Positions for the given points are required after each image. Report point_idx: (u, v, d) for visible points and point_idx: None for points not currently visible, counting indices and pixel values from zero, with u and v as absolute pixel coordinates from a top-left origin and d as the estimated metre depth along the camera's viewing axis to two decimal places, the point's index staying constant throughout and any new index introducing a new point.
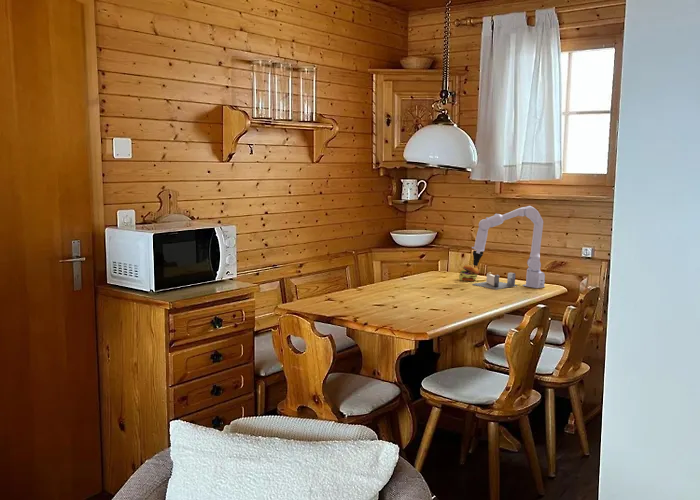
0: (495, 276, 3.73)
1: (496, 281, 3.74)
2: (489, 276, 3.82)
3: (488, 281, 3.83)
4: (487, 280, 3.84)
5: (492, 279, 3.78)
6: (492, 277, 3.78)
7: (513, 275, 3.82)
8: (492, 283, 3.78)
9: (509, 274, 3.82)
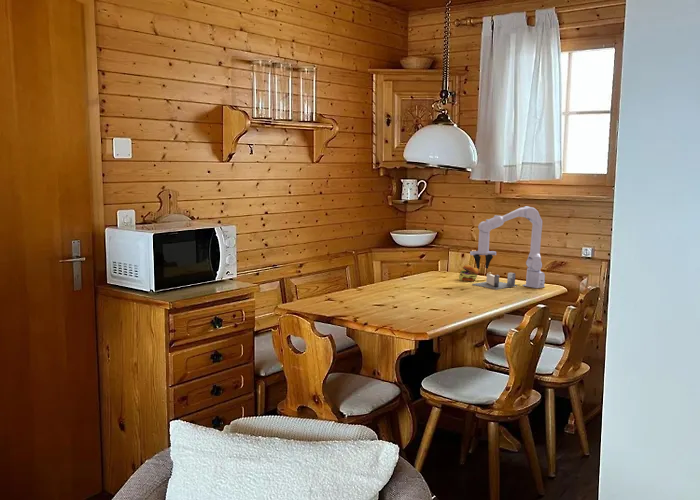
0: (495, 276, 3.73)
1: (496, 281, 3.74)
2: (489, 276, 3.82)
3: (488, 281, 3.83)
4: (487, 280, 3.84)
5: (492, 279, 3.78)
6: (492, 277, 3.78)
7: (513, 275, 3.82)
8: (492, 283, 3.78)
9: (509, 274, 3.82)
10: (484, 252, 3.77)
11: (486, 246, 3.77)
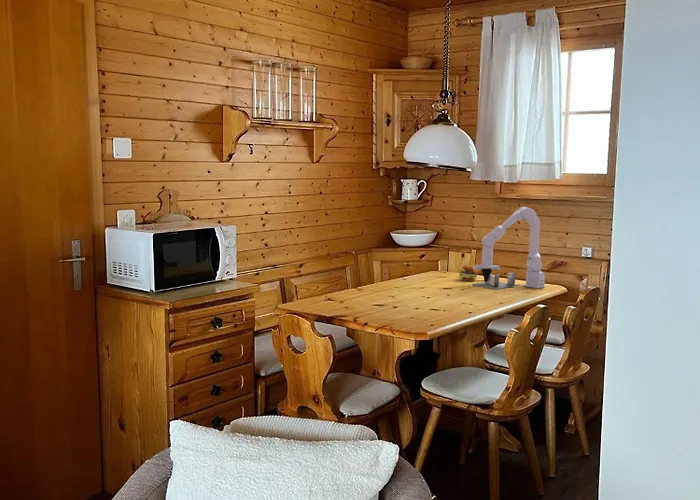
0: (495, 276, 3.73)
1: (496, 281, 3.74)
2: (489, 276, 3.82)
3: (488, 281, 3.83)
4: (488, 280, 3.84)
5: (492, 279, 3.78)
6: (492, 277, 3.78)
7: (513, 275, 3.82)
8: (492, 283, 3.78)
9: (509, 274, 3.82)
10: (487, 266, 3.79)
11: (489, 260, 3.78)
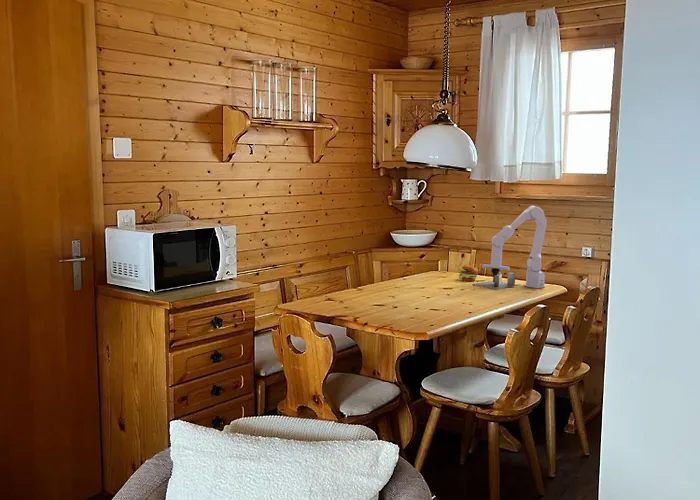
0: (495, 276, 3.73)
1: (496, 281, 3.74)
2: None
3: None
4: None
5: None
6: None
7: (513, 275, 3.82)
8: None
9: (509, 274, 3.82)
10: (493, 266, 3.80)
11: (496, 260, 3.79)
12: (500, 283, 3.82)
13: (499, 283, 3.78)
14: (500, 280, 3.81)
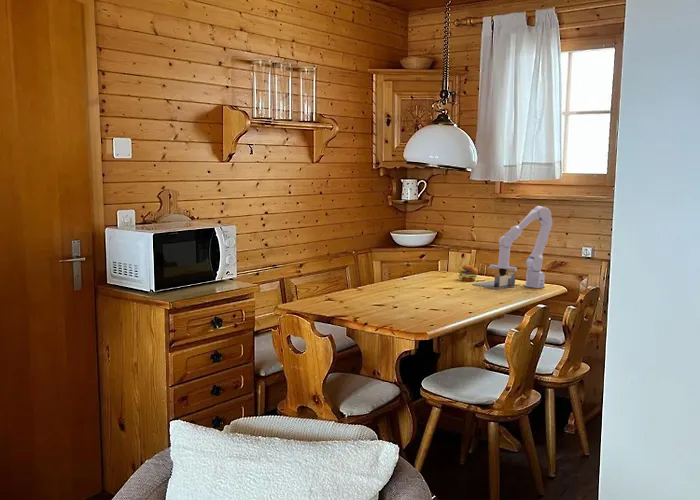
0: (495, 276, 3.73)
1: (496, 281, 3.74)
2: None
3: None
4: None
5: None
6: None
7: (513, 275, 3.82)
8: None
9: None
10: (501, 266, 3.78)
11: (503, 260, 3.77)
12: (507, 284, 3.79)
13: (502, 284, 3.77)
14: (506, 281, 3.79)
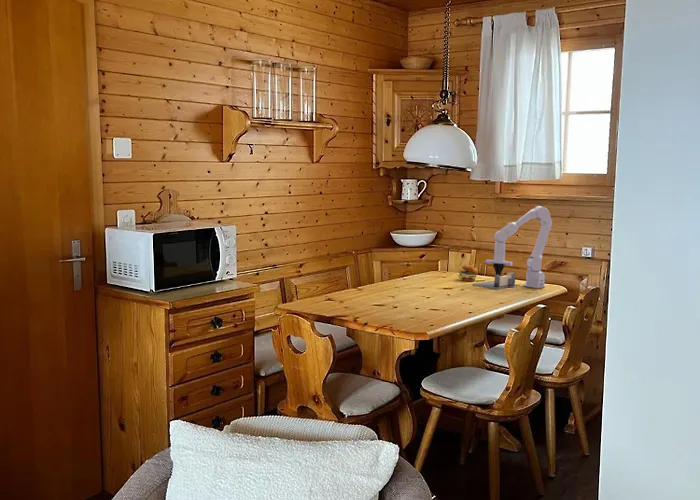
0: (495, 276, 3.73)
1: (496, 281, 3.74)
2: None
3: None
4: None
5: None
6: None
7: (513, 275, 3.82)
8: None
9: None
10: (496, 261, 3.80)
11: (498, 255, 3.79)
12: (507, 284, 3.79)
13: (502, 284, 3.77)
14: (506, 281, 3.79)
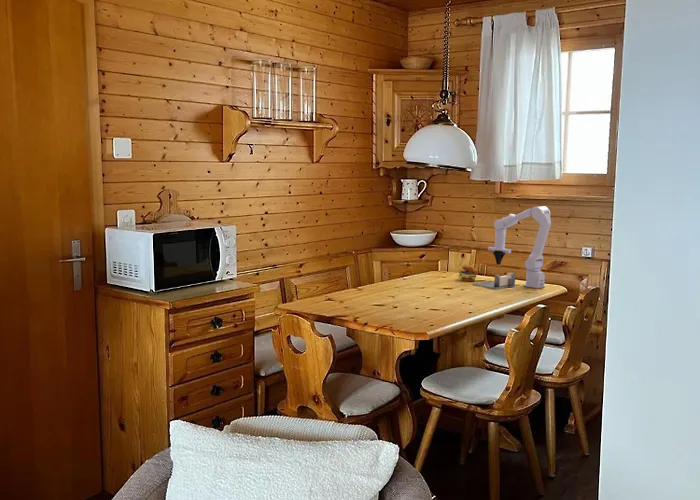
0: (495, 276, 3.73)
1: (496, 281, 3.74)
2: None
3: None
4: None
5: None
6: None
7: (513, 275, 3.82)
8: None
9: None
10: (495, 248, 3.95)
11: (497, 243, 3.94)
12: (507, 284, 3.79)
13: (502, 284, 3.77)
14: (506, 281, 3.79)
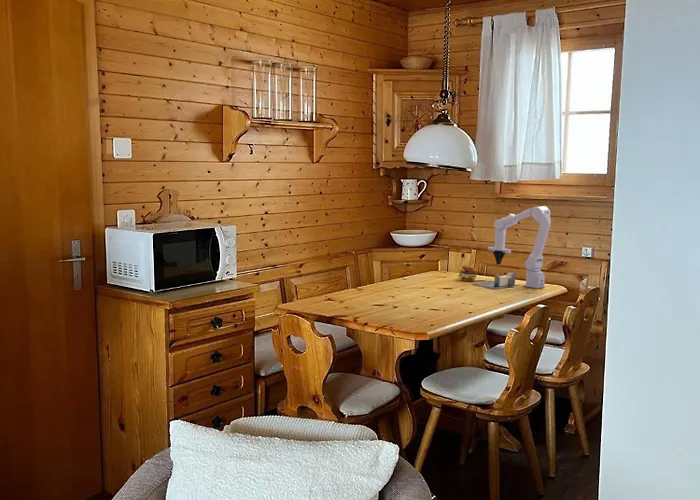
0: (495, 276, 3.73)
1: (496, 281, 3.74)
2: None
3: None
4: None
5: None
6: None
7: (513, 275, 3.82)
8: None
9: None
10: (495, 248, 3.95)
11: (497, 243, 3.94)
12: (507, 284, 3.79)
13: (502, 284, 3.77)
14: (506, 281, 3.79)
